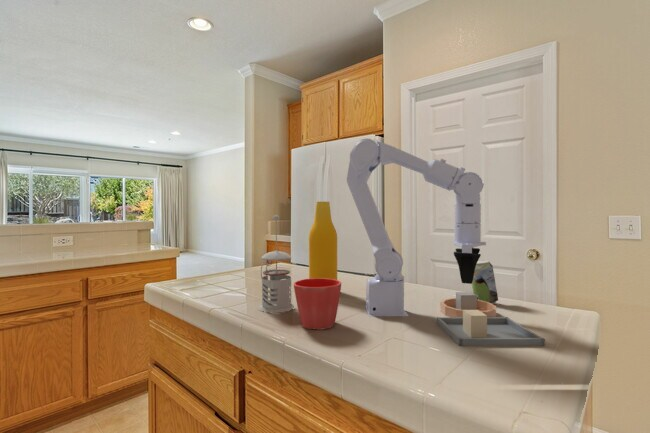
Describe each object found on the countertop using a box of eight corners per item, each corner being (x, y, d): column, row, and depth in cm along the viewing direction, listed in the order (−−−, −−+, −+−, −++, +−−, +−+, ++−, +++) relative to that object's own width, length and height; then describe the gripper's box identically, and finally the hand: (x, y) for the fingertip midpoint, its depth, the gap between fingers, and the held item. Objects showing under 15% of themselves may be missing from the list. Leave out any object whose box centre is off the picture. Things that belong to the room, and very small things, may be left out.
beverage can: (501, 307, 91) (501, 262, 90) (471, 305, 92) (472, 262, 92) (494, 301, 97) (494, 259, 97) (467, 300, 98) (467, 258, 98)
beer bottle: (340, 289, 111) (340, 201, 111) (332, 296, 103) (332, 201, 102) (314, 287, 114) (314, 202, 114) (304, 294, 105) (304, 201, 105)
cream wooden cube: (487, 337, 67) (487, 315, 67) (470, 337, 67) (471, 315, 67) (477, 330, 71) (478, 309, 71) (462, 330, 71) (462, 309, 71)
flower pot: (294, 317, 82) (293, 278, 82) (338, 316, 83) (338, 277, 83) (293, 333, 72) (293, 287, 72) (344, 331, 73) (344, 286, 73)
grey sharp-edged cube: (460, 312, 84) (460, 295, 84) (455, 309, 87) (455, 292, 87) (476, 312, 84) (476, 295, 84) (471, 309, 87) (471, 292, 87)
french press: (270, 315, 84) (270, 215, 84) (248, 305, 93) (247, 215, 92) (302, 308, 90) (301, 214, 90) (278, 299, 99) (277, 214, 99)
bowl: (452, 324, 77) (452, 311, 77) (434, 308, 90) (434, 298, 90) (506, 324, 77) (506, 311, 77) (481, 308, 90) (481, 297, 90)
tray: (459, 348, 63) (459, 339, 63) (436, 325, 76) (436, 317, 76) (544, 348, 63) (544, 339, 63) (507, 325, 76) (507, 317, 76)
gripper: (487, 224, 72) (486, 287, 72) (484, 222, 85) (484, 275, 86) (452, 224, 75) (451, 285, 75) (455, 222, 88) (454, 273, 88)
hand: (467, 280), depth 81 cm, fingers open, 7 cm apart
